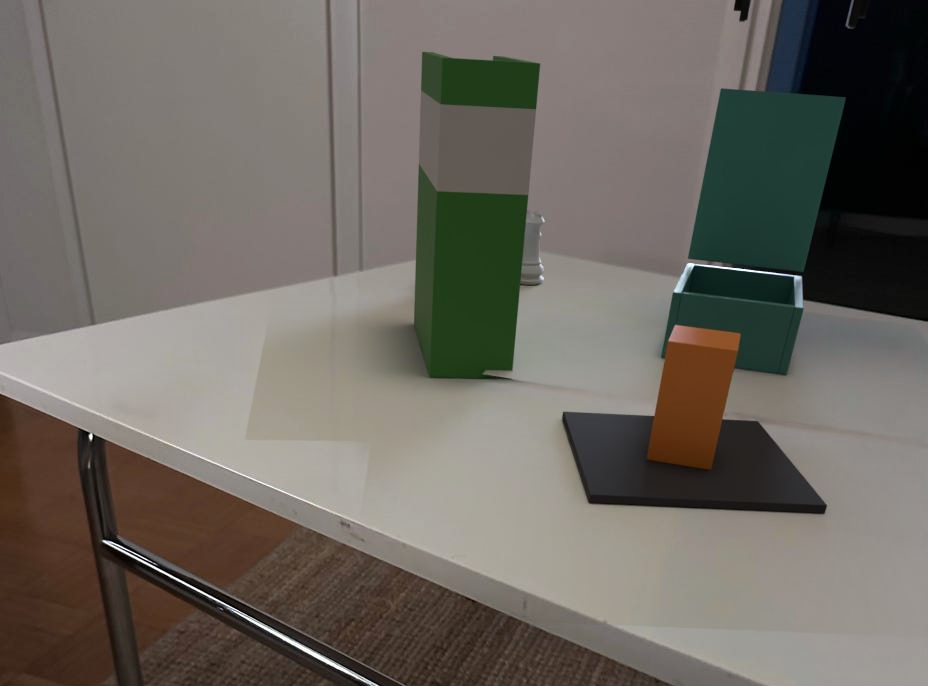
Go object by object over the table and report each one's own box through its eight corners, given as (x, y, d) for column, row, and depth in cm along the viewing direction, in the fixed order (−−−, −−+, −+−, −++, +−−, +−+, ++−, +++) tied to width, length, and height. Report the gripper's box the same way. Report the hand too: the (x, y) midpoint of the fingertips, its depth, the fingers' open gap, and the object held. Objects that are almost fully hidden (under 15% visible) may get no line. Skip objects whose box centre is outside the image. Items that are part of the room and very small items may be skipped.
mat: (756, 427, 75) (758, 420, 75) (825, 513, 62) (827, 505, 61) (561, 418, 75) (562, 411, 74) (589, 502, 61) (590, 494, 61)
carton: (710, 470, 65) (737, 350, 61) (646, 459, 66) (668, 340, 62) (715, 448, 69) (740, 333, 64) (653, 438, 70) (674, 324, 65)
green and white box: (413, 323, 96) (422, 51, 83) (483, 325, 97) (503, 56, 84) (429, 377, 81) (442, 57, 68) (511, 378, 82) (540, 63, 69)
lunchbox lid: (846, 97, 87) (845, 98, 87) (720, 88, 89) (721, 89, 90) (803, 272, 93) (803, 271, 94) (687, 258, 96) (688, 258, 96)
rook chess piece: (504, 277, 117) (510, 208, 112) (538, 277, 118) (545, 209, 113) (512, 285, 113) (518, 214, 109) (547, 285, 114) (555, 215, 110)
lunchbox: (784, 383, 86) (804, 308, 82) (659, 365, 88) (672, 292, 84) (785, 343, 97) (802, 276, 94) (674, 329, 100) (687, 262, 96)
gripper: (954, -214, 77) (889, 31, 87) (743, -215, 81) (703, 20, 90) (971, -236, 71) (899, 29, 81) (742, -236, 75) (699, 18, 84)
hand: (796, 24), depth 85 cm, fingers open, 9 cm apart
